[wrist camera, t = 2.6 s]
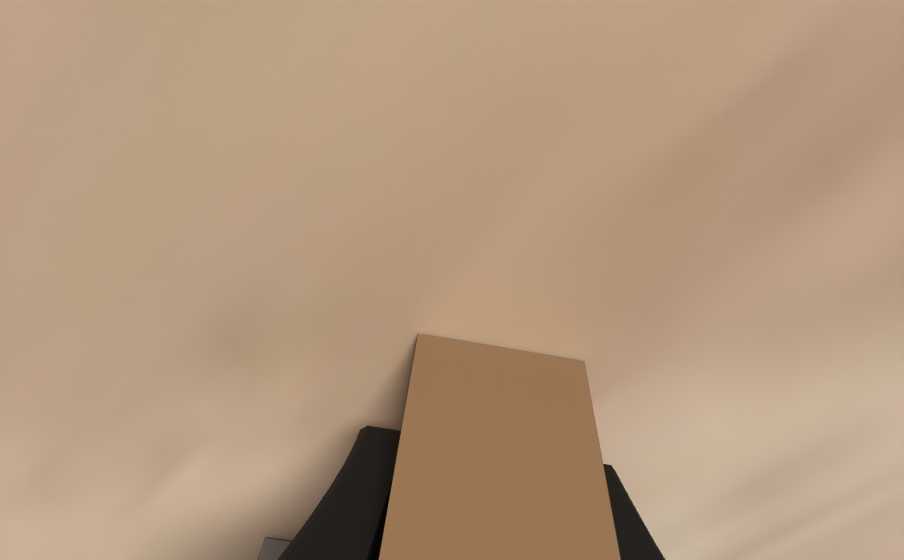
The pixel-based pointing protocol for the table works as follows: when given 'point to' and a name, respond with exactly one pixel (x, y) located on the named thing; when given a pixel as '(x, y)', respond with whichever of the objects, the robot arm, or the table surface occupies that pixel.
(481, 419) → the brown tall block
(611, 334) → the table surface
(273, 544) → the dark grey tray
